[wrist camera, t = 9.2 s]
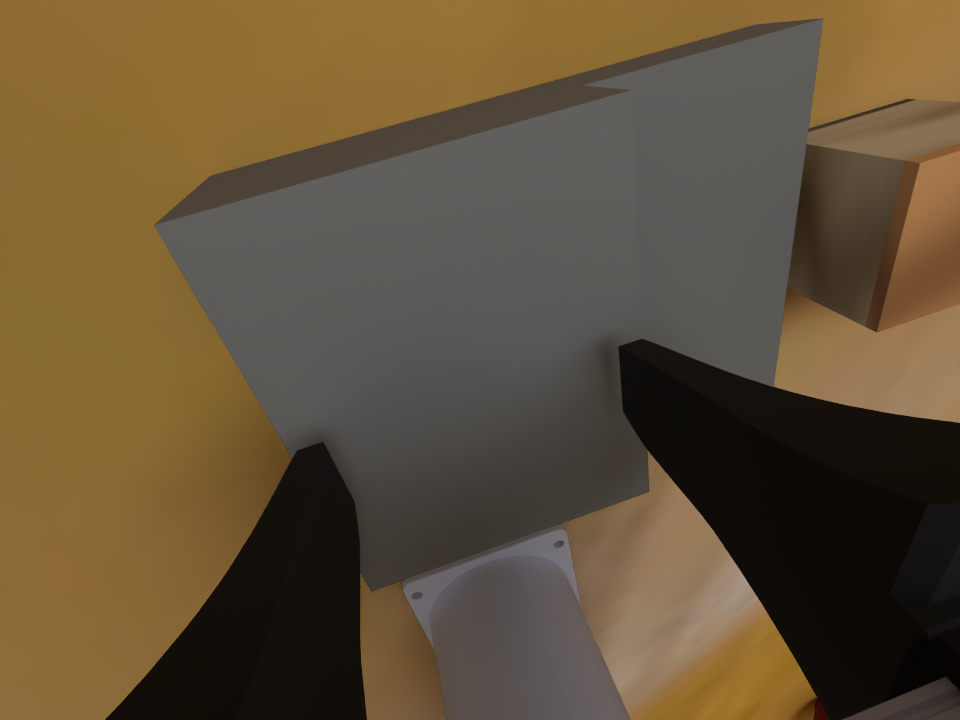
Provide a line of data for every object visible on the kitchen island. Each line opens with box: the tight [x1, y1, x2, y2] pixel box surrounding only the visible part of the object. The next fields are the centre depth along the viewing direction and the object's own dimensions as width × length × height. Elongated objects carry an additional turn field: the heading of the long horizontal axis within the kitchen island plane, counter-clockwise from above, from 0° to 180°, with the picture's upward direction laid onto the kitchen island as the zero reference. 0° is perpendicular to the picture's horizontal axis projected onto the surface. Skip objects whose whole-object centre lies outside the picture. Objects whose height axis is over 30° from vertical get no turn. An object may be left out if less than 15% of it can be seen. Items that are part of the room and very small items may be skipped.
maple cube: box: [787, 99, 960, 332], centre depth 16 cm, size 5×5×5 cm
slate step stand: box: [154, 18, 823, 591], centre depth 15 cm, size 12×16×5 cm
